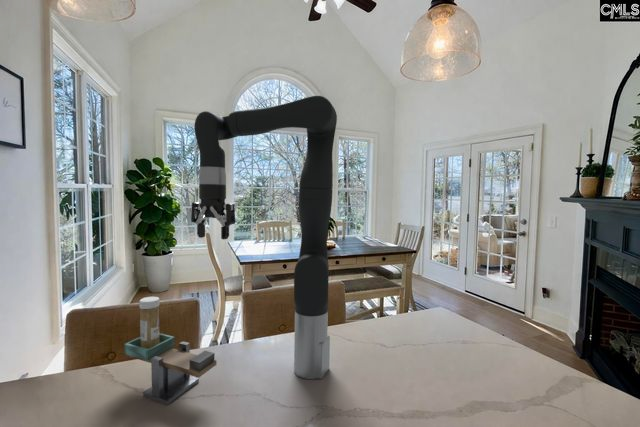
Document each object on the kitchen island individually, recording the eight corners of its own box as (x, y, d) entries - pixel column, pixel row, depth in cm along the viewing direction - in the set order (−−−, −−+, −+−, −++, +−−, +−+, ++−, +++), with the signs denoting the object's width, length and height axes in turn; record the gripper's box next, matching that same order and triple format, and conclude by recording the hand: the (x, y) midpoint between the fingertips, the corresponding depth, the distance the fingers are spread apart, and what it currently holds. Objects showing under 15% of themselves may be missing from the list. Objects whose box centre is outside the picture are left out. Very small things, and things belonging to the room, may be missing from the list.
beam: (219, 362, 80) (219, 348, 79) (195, 380, 72) (195, 364, 72) (152, 344, 88) (152, 331, 88) (124, 358, 81) (123, 343, 80)
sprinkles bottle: (160, 351, 82) (160, 299, 81) (140, 355, 80) (140, 302, 79) (158, 343, 86) (158, 294, 85) (139, 348, 84) (138, 297, 83)
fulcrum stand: (198, 382, 84) (198, 344, 83) (167, 405, 74) (166, 363, 74) (175, 375, 87) (175, 339, 86) (142, 396, 78) (142, 356, 77)
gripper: (240, 183, 95) (240, 238, 96) (202, 183, 100) (203, 235, 101) (224, 182, 88) (224, 241, 89) (184, 182, 93) (184, 238, 94)
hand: (212, 238), depth 95 cm, fingers open, 8 cm apart
